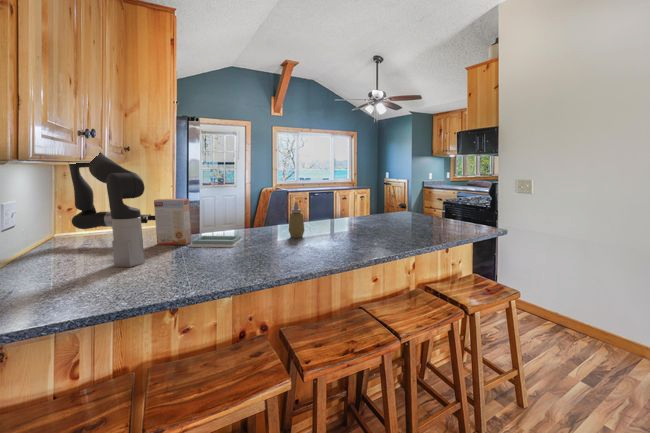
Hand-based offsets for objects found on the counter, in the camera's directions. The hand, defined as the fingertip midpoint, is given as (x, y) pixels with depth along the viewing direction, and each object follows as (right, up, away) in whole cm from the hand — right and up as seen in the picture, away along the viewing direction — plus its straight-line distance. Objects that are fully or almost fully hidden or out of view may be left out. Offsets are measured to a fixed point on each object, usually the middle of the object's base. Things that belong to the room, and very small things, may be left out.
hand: (152, 219), depth 156 cm
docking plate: (+30, -11, +1) cm, 32 cm away
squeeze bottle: (+66, -9, +15) cm, 68 cm away
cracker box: (+10, -12, +1) cm, 15 cm away
